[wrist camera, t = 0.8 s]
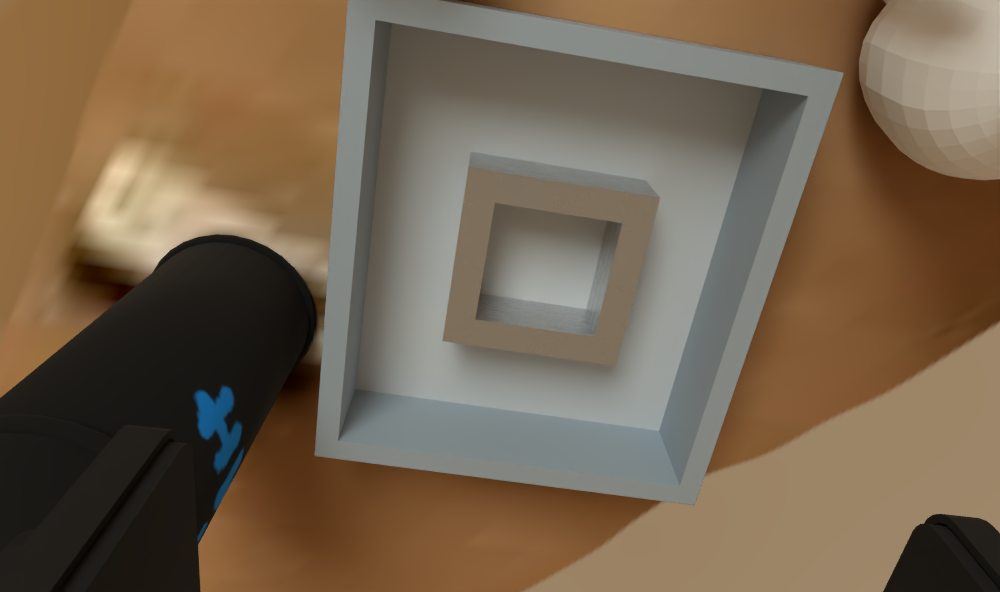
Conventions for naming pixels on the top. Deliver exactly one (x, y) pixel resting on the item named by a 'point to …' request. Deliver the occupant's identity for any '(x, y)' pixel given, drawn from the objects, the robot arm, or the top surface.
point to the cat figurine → (937, 83)
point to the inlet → (541, 323)
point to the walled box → (552, 241)
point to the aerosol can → (160, 376)
